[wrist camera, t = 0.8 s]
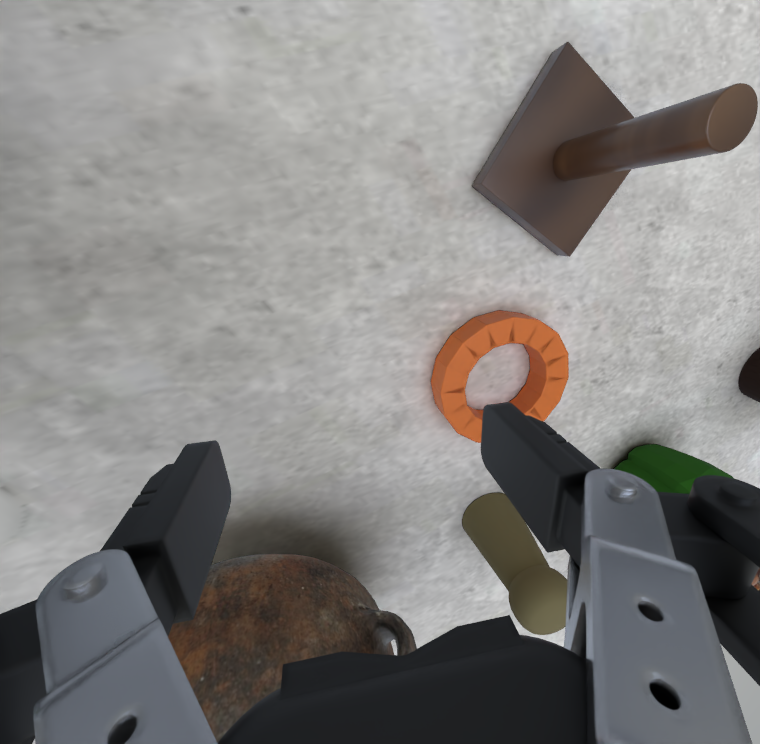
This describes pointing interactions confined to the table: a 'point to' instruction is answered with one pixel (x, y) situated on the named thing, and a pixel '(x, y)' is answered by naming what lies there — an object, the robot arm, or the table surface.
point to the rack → (595, 147)
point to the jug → (274, 628)
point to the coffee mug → (751, 377)
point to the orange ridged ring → (479, 340)
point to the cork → (518, 563)
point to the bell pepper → (667, 468)
